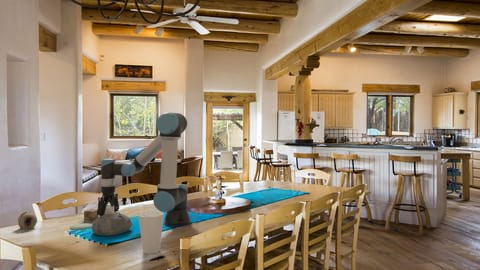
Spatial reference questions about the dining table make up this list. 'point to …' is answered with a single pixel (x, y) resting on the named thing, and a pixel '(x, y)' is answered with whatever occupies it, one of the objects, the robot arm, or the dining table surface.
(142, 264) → the dining table surface
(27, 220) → the grey rounded ring
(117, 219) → the decorative stone
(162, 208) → the robot arm
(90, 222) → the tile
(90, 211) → the walnut block
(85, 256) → the dining table surface
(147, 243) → the cup
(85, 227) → the coaster
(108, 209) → the mug
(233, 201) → the dining table surface
